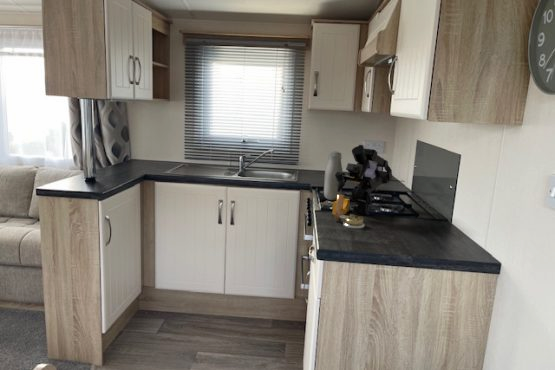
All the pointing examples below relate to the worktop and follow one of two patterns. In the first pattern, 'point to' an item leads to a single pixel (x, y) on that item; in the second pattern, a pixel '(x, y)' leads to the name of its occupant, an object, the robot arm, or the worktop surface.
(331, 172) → the glass bottle
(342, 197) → the bronze dome and bar
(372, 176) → the cake pan box
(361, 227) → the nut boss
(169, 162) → the worktop surface
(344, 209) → the pipe clamp
